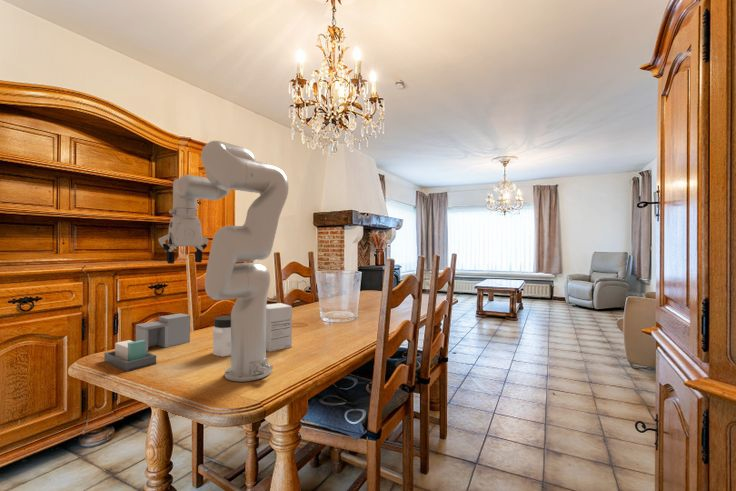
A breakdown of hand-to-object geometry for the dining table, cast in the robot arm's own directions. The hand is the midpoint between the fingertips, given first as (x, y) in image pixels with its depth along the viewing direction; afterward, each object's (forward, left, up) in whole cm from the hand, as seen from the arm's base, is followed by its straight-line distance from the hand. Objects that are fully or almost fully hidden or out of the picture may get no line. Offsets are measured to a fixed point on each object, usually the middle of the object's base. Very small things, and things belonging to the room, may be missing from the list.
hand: (184, 262), depth 121 cm
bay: (+10, +2, -30) cm, 32 cm away
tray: (0, +17, -30) cm, 35 cm away
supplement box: (-24, -20, -31) cm, 44 cm away
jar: (-16, -6, -31) cm, 35 cm away
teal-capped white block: (+1, +17, -30) cm, 34 cm away
